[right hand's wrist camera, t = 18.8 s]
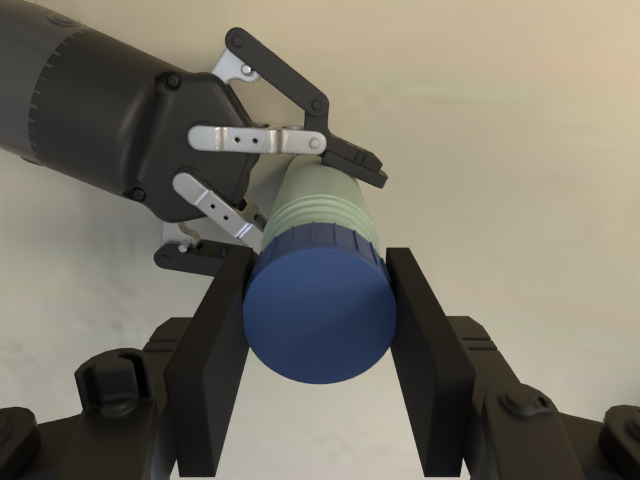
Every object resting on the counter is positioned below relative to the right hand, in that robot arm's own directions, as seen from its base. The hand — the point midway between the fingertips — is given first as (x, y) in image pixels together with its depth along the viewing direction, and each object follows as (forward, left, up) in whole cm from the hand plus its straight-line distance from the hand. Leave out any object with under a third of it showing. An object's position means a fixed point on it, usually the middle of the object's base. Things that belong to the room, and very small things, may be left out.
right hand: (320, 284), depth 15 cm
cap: (0, 0, +2) cm, 2 cm away
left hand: (-1, +2, -10) cm, 11 cm away
